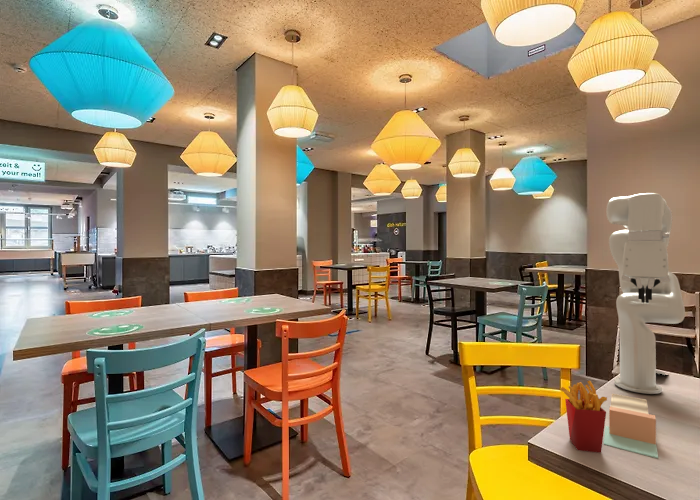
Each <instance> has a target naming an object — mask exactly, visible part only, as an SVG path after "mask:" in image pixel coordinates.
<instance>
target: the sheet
mask: <svg viewBox="0 0 700 500" xmlns="http://www.w3.org/2000/svg"><path fill="white" fill-rule="evenodd" d="M610 406H611V407H616V408H621V409H626V410H631V411H635V412H640V413H645V414H649V407H648V402H647V399H645V398H639V397H635V396H634V397H633V396H629V395H628V396H627V395H624V394H617V393H611V398H610Z"/></svg>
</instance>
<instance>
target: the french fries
mask: <svg viewBox="0 0 700 500" xmlns="http://www.w3.org/2000/svg"><path fill="white" fill-rule="evenodd" d="M586 382H587V384H585V385H584V384H583V383H582V382H581V381H580V382H576V383H574V384H573V385H572V386H571V385H568V386H567V387H568V389H569V390H568V389H567V388H565V387H563V386H561V388H560V390H559V391H561V392H562V393H563V394H565V395H566V397H568V398H565V399H564V401H565V409H566V417H567V424H568V436H569V440H570V442H571V444H573V446H574V447H575V449H576V451H580V452H581V451H582V452H590V453H600V454H601V453H602V450H603V449H602V448H603V443H604V435H605V426H606V425H605V424H606V415H607V411H606V410H605V409H603V407H602V405H603V403H604V402H606V401H608V397H606V396H601V397H600V398H599V396H598V394H597V390H596V388H595V387H594V384H593V383H592V381H591V380H588V381H586Z"/></svg>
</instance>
